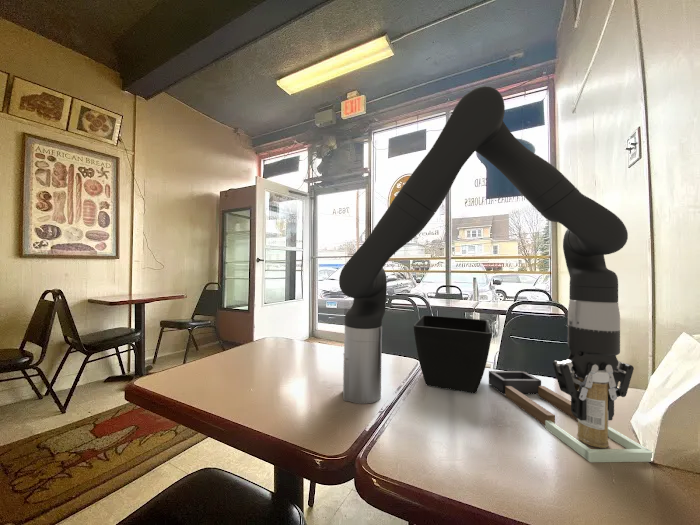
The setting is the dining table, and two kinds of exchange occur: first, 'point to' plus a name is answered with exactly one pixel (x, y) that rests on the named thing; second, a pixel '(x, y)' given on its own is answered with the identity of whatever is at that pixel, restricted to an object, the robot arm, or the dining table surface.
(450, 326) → the flower pot
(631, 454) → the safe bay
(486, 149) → the robot arm
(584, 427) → the sprinkles bottle
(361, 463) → the dining table surface
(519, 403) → the channel
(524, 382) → the bin
